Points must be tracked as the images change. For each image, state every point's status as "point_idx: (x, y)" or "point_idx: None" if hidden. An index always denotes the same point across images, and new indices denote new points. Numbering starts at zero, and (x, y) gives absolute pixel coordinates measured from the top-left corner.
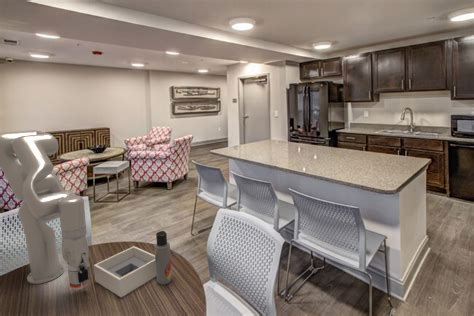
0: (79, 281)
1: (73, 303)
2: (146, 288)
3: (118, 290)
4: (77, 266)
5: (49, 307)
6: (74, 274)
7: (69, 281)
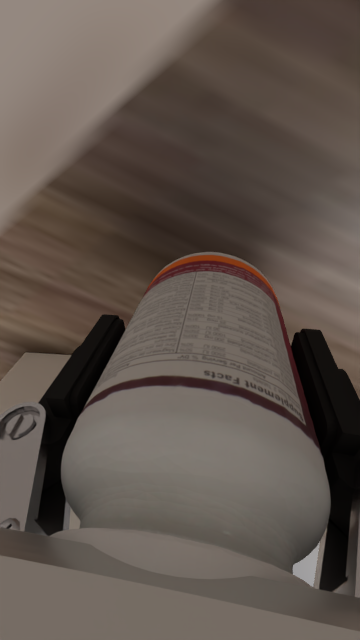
0: (96, 323)
1: (151, 201)
2: None
3: (23, 375)
4: (23, 505)
5: (264, 39)
6: (115, 362)
7: (221, 279)
